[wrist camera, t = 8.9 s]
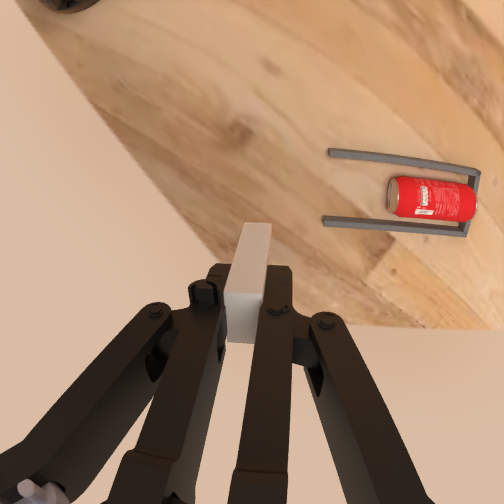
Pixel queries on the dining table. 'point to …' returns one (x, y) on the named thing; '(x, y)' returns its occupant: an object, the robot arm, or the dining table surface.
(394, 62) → the dining table surface
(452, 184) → the beverage can
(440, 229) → the grey u-shaped frame
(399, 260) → the dining table surface
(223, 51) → the dining table surface
